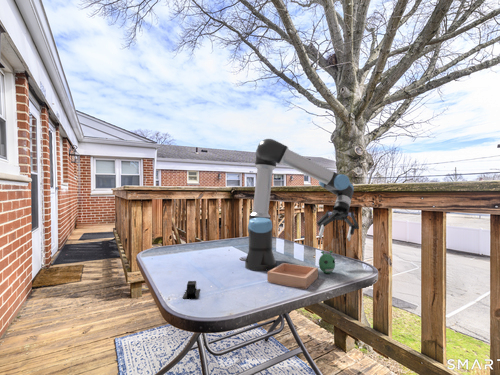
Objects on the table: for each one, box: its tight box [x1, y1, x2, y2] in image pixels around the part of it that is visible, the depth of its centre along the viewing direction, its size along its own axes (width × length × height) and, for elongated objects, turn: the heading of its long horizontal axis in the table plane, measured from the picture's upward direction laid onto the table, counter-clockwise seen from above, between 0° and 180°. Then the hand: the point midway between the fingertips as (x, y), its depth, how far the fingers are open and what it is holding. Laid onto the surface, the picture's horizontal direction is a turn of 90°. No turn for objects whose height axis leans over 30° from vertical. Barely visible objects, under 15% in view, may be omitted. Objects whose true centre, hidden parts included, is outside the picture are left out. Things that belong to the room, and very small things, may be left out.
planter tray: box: [266, 262, 319, 290], centre depth 104 cm, size 16×16×4 cm
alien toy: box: [318, 249, 336, 274], centre depth 113 cm, size 7×8×10 cm
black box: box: [182, 280, 201, 300], centre depth 89 cm, size 12×7×5 cm, turn 6°
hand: (333, 238), depth 121 cm, fingers open, 13 cm apart
